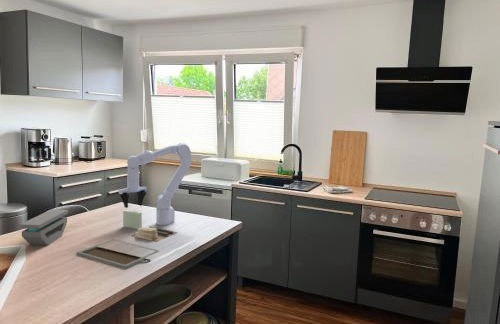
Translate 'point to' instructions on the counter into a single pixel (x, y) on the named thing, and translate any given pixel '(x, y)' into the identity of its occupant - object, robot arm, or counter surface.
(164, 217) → the robot arm
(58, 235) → the grey slotted block
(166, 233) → the rack
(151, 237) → the offcut lower
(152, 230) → the offcut upper
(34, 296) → the counter surface
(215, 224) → the counter surface
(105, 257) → the grey framed board
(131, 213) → the sage green block
